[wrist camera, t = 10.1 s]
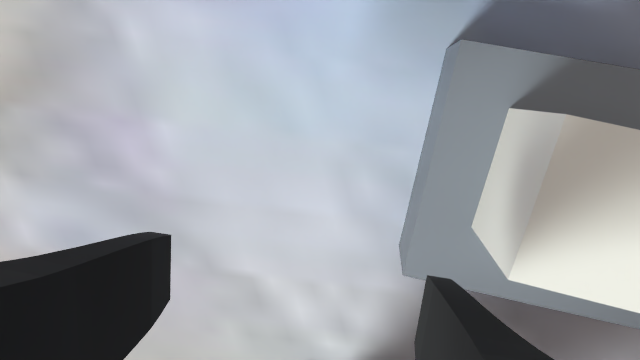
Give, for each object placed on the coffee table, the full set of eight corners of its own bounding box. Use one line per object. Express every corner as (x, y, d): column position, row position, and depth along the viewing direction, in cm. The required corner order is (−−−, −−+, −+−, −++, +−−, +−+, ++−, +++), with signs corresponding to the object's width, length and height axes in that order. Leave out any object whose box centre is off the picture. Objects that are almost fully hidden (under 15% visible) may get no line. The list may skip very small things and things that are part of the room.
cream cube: (594, 257, 17) (683, 324, 12) (471, 226, 17) (508, 279, 12) (643, 136, 15) (764, 156, 11) (509, 107, 16) (566, 114, 11)
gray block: (593, 285, 21) (641, 329, 17) (398, 242, 22) (402, 275, 18) (666, 87, 18) (743, 86, 15) (445, 49, 19) (461, 39, 16)
